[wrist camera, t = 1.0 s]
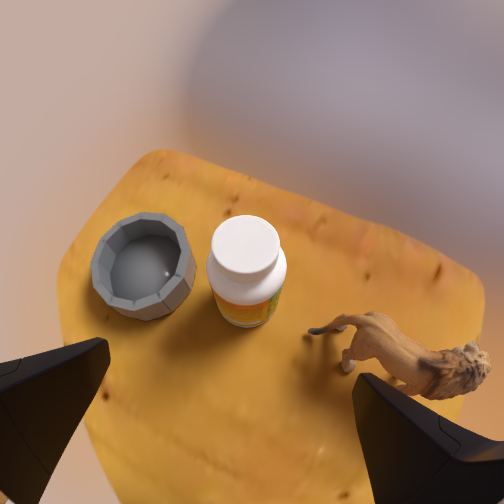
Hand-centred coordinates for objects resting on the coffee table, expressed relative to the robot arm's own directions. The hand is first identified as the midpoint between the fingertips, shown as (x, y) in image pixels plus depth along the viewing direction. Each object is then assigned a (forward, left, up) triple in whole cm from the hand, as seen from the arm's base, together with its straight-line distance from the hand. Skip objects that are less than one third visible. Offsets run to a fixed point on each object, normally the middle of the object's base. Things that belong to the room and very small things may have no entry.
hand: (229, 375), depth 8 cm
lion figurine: (+12, -4, -14) cm, 19 cm away
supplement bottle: (+3, +7, -14) cm, 16 cm away
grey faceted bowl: (-5, +13, -14) cm, 19 cm away
